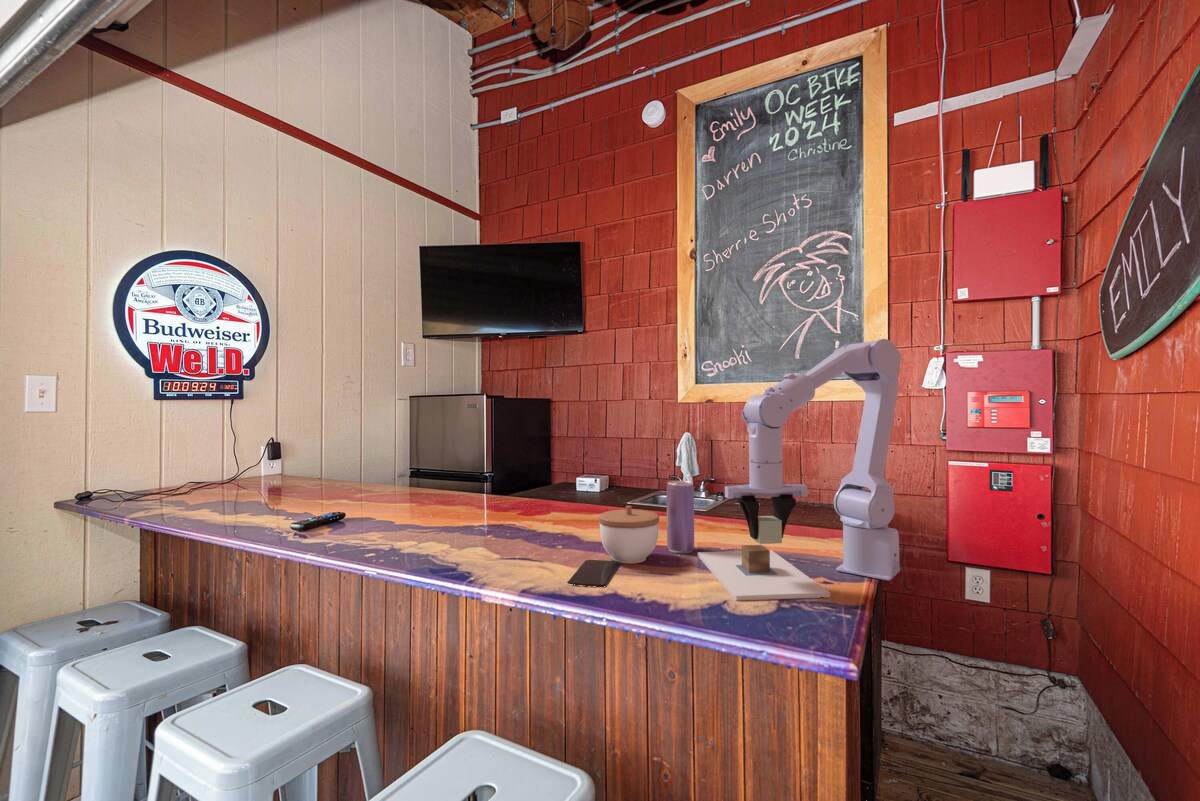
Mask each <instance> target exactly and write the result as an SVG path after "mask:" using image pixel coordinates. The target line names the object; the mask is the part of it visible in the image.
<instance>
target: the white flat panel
mask: <svg viewBox="0 0 1200 801" xmlns="http://www.w3.org/2000/svg"><path fill="white" fill-rule="evenodd" d="M769 550H770V572H755V573H749V572H748V571H747V570H745V569H744V568H743V567H742V550H727V551H725V550H724V551H697V557H698V558H699V560H701V562H702V563H703V564H704V565H705V566H706V568H707V569H708V570H709V571H710V572H711V573H712V574H713V575H714V577H715V578H716V579H717V580H718V581H719V583H720V584H722V586H723V587H724V588H725V589H726V591H727V592H729V594H730V595H731V596H732V597H733V599H734V600H735V601H766V600H767V601H768V600H789V599H790V600H791V599H817V598H818V599H819V598H820V597H824V598H831V592H830V591H829V590H828V589H826V588H825V587H823V586H822V585H820V584H819V583H818V582H816V581H815V580H813V579H812V578H811V577H810V576H808V575H806V574H805V573H804V572H802V571H801V570H800V569H798V568H797V567H795V566H794V565H793V564H791V563H790V562H788V561H787V560H786V559H784V558H783V557H782V556H780V555H778V554H777V553H776V552H774V551H773V550H772V549H769ZM820 599H821V598H820Z"/></svg>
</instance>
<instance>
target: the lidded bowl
mask: <svg viewBox="0 0 1200 801" xmlns="http://www.w3.org/2000/svg"><path fill="white" fill-rule="evenodd" d="M632 508H633V507H632V505H626V506H625V509H615V510H614V509H613V510H608V511H604V512H602V513H600V514H599V516H598V522H599V534H600V539H601V543H602V546H603V548H604V550H605V552H606V553H607V554H608V555H609V556H610V557H611V558H612V561H618V562H619V563H621V564H629V565H630V564H639V563H643V562H645V561H646V560H647V557H649V556H650V555H651V554H652V552H653V551H654V550H655V548H656V546H657V542H658V538H659V522H660V516H659V514H658V513H656V512H653V511H650V510H644V509H632Z"/></svg>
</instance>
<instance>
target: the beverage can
mask: <svg viewBox="0 0 1200 801" xmlns="http://www.w3.org/2000/svg"><path fill="white" fill-rule="evenodd" d="M693 484H694V483H693V482H692V481H690V480H688V481H687V480H671V481H670V480H669V481H667V484H666V546H667V549H668V551H669V552H671V553H673V554H678V555H679V554H682V555H683V554H690V553H693V551H694V550H695V487H694V485H693Z"/></svg>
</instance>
